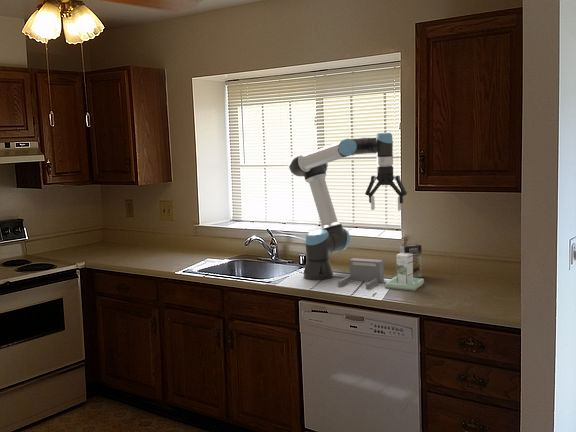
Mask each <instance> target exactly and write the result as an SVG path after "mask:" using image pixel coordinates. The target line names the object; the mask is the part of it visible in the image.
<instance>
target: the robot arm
mask: <svg viewBox="0 0 576 432" xmlns="http://www.w3.org/2000/svg"><path fill="white" fill-rule="evenodd" d="M375 135H376V137H360V138H359V137H358V138H346V139H342V140H340V141H339V142H337V143H333V144H331V145H328V146H326V147H322V148H319V149H317V150H315V151H312V152H308V153H306V152H305V153H304V152H303V153H299V154H296V155H295V154H294V156H292V157H291V158H290V160H289V163H288V168H289V170H290V173H291V174H293V175H294V176H297V177H303V178H304V180H305V182H306V183H308V184H309V187H310V191H311V193H312V197H313V202H314V204H315V207H316V208H315V209H316V211H317V213H318V217H319V220H320V224H321V228H320V229H315V230H310V231H309V232H307V233H306V235H305V242H304V243H305V253H306V254H305V255H306V256H305V257H306V258H305V259H306V263H305V267H304V269H303V278H305V279H306V280H314V281H315V280H326V279H327V280H328V279H331V278H333V277H334V271H333V268H332V265H331V261H330V254H334V253H337V252H341V251H344V250H346V249H347V248H348V247H349V245H350V242H351V235H350V232H349V230H347V229H346V228H344V227H343V224H342V223H341V222H339V221H338V217H337V214H336V212H335V207H334V205H333V202H332V198H331V195H330V192H329V188H328V185H327V182H326V176H327V173H326V172H327V170H328V167H329V164H328V163H331V162H334V161H337V160H340V159H344V158H347V157H350V156H355V155H365V154H376V165H377V167H376V169H377V175H371V177H370V181H369V184H368V186H367V188H366V191H365V192H364V194H365V196H368V200H369V201H368V202H369V203H370V211H373V210H376V209H375V208H376V206H375V205H376V204H375V201H376V200H375V195H374V194H375V193H376V192H377V191H378V189H379V188H380V186H390V187H391V188H392V189H393V191H394V192H395V193H396V194H397V195H398V196H397V211H399V212H400V211H402V204H403V203H404V196H406V195H408V193H407V190H406V189H405V186H404V184H403V182H402V181H401V176H400V175H394V166H393V165H394V154H393V153H394V152H393V151H394V149H393V147H394V146H393V145H394V141H393V140H394V139H393V134H392V133H391V132H384V133H383V132H381V133H377V134H375ZM376 181H378V182H377V183H376V185H374V184H375V182H376ZM394 181H396V183H395V182H394ZM396 184H397V185H396Z"/></svg>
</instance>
